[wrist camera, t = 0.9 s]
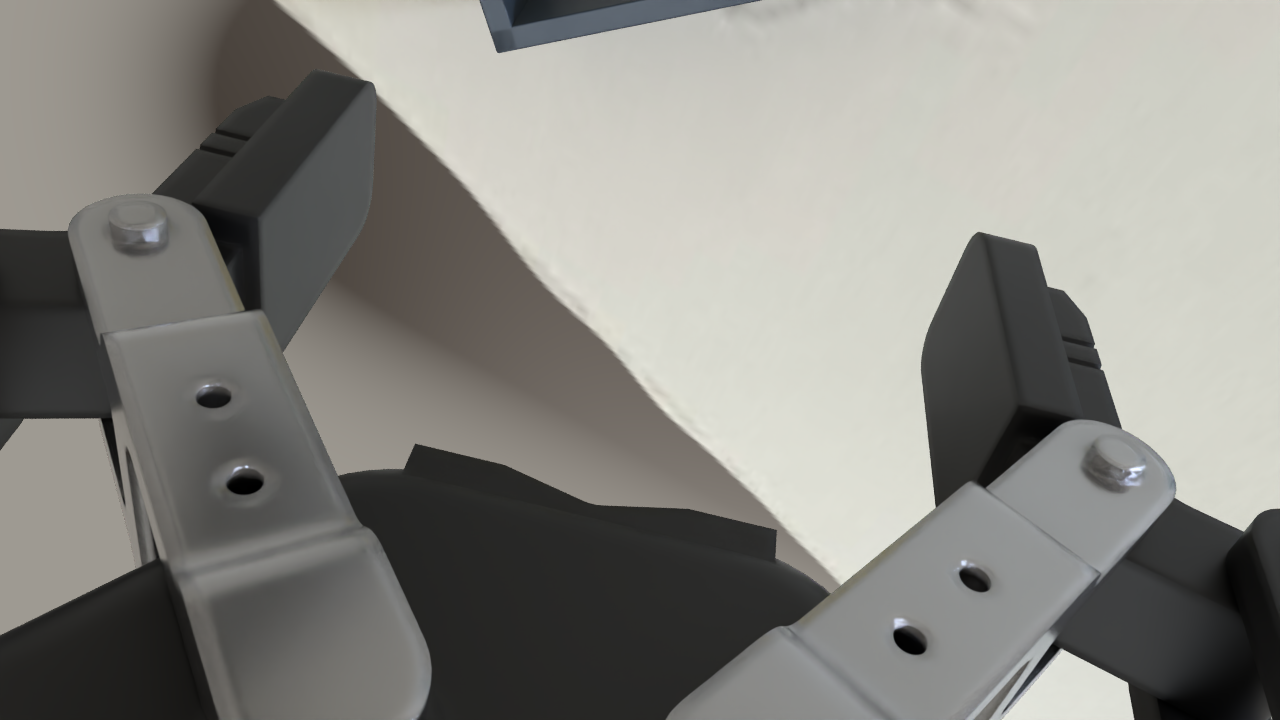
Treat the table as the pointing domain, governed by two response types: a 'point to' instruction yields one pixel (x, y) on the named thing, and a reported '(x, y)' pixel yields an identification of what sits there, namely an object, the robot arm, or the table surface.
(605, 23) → the rectangular frame
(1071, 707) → the table surface
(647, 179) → the table surface
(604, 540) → the robot arm
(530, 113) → the table surface
